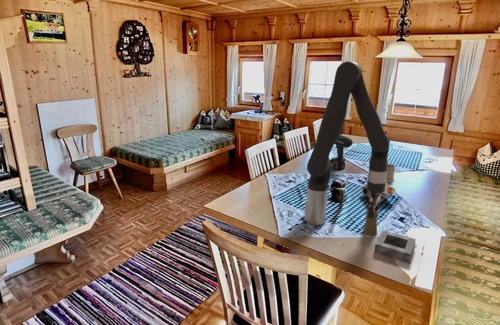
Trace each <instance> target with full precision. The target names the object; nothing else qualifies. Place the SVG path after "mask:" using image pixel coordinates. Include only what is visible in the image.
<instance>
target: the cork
mask: <svg viewBox="0 0 500 325" xmlns="http://www.w3.org/2000/svg"><path fill="white" fill-rule="evenodd" d="M368 211H369V210H367V209H366V211H365V215H366V218H365V222H364V226H363V229H362V232H363V234H364V235H366V236H369V237H370V236H371V237H375V236H377V235H378V224H377V222H378V221H377V220H378V218H379V212H378V211H376V210H374V217H373V218H368Z"/></svg>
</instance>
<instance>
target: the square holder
mask: <svg viewBox="0 0 500 325" xmlns="http://www.w3.org/2000/svg"><path fill="white" fill-rule="evenodd" d="M416 239H417V238H412V237H411V236H410V237H409V236H405V235H402V234H399V233H394V232H390V231H386V230H383V229H382V231H381V232H380V234H379V236H378V239H377V241H376V242H375V244H374V245H375V246H374V251H373V252H374V253H375V254H377V255H381V256H384V257H388V258H391V259H394V260H397V261H401V262H404V263H408V264H410V263H411V259H412V256H413V253H414V250H415V245H416Z"/></svg>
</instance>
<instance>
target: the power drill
mask: <svg viewBox="0 0 500 325" xmlns="http://www.w3.org/2000/svg"><path fill="white" fill-rule="evenodd" d="M334 145H335V148H336V152H337V156H334V157H331V158H330V161H331V169H334V170H338V171H339V170H344V169H345V168H346V159H345V158H343V157H344V152H345V151H344V148H345V149H348V148H349V149H350V147H351V146H353V139H351V138H350V137H348V136H344V135H342V134H341V133H340V134H339V136H338V138H337V140H336V142H335V144H334Z"/></svg>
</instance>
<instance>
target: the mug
mask: <svg viewBox="0 0 500 325" xmlns="http://www.w3.org/2000/svg"><path fill="white" fill-rule="evenodd" d="M395 169H396V166H395V165H394V164H391V163H387V171H386V173H387V177H386V183H394V182H395V181H396V180H395V178H394V177H395V176H394V175H395V171H396V170H395Z"/></svg>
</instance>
